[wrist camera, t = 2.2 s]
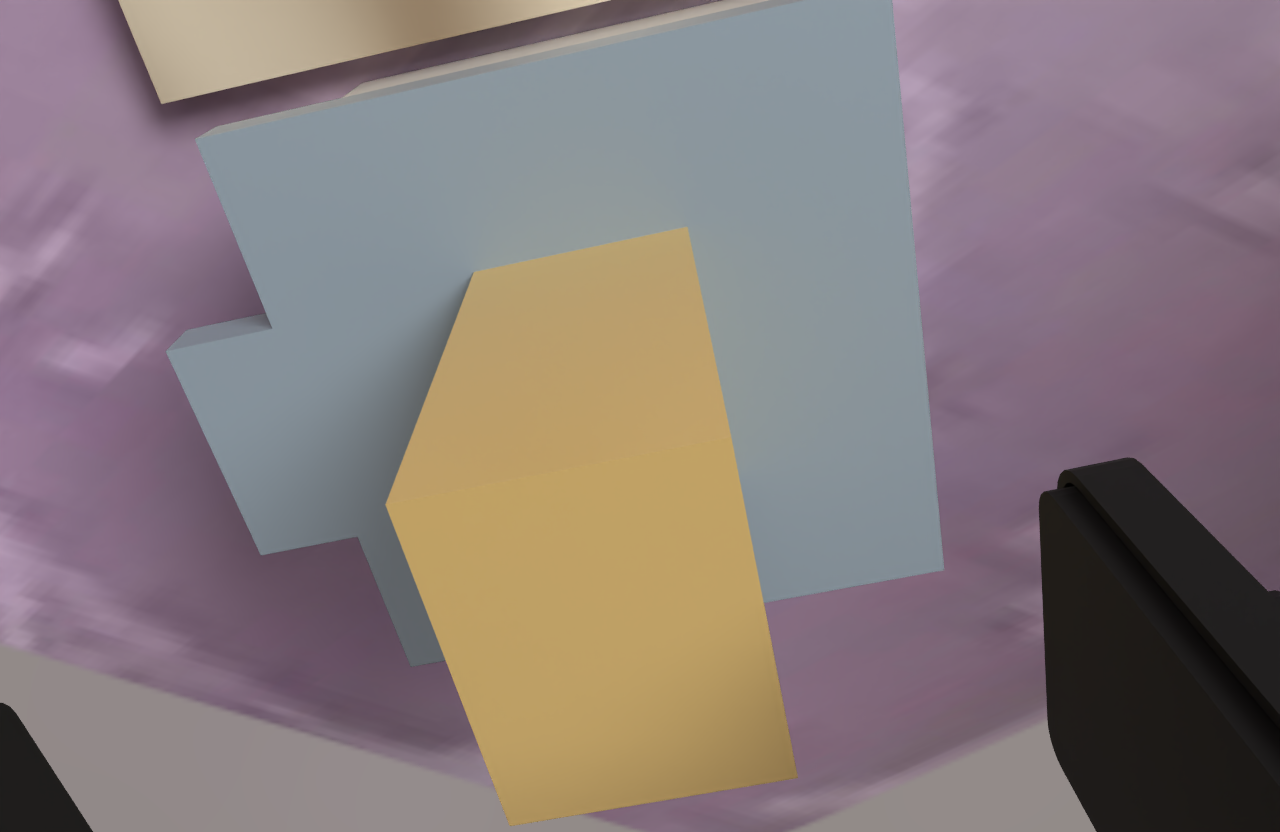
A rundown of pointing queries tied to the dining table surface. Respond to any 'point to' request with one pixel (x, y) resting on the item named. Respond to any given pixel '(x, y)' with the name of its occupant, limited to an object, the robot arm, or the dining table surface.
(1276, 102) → the dining table surface
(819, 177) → the lid
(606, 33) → the tub
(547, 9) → the board
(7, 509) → the dining table surface
